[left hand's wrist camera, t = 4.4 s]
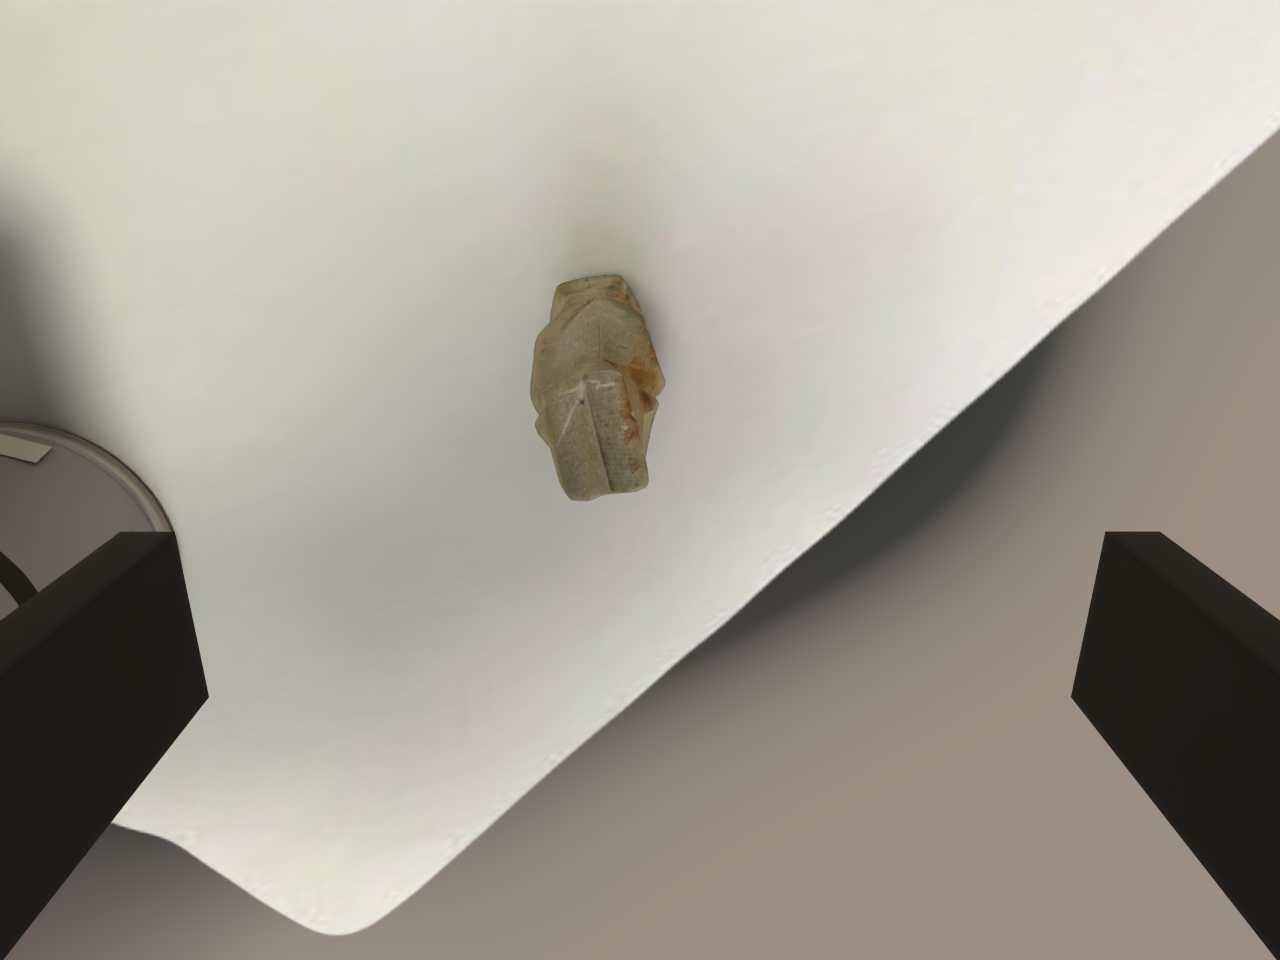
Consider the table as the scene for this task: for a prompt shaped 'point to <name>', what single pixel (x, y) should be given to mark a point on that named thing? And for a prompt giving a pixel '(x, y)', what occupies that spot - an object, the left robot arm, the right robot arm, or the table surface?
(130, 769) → the left robot arm
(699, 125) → the table surface
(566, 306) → the sculpture
